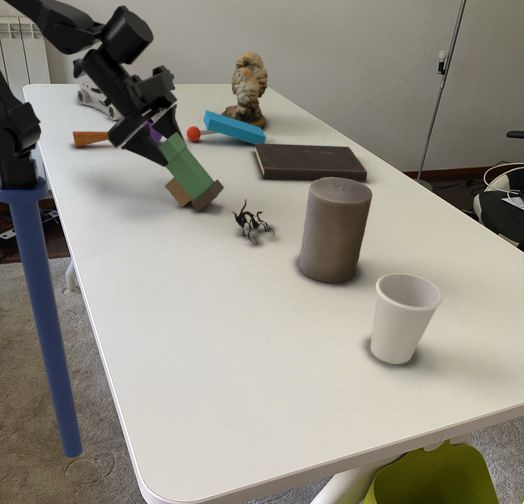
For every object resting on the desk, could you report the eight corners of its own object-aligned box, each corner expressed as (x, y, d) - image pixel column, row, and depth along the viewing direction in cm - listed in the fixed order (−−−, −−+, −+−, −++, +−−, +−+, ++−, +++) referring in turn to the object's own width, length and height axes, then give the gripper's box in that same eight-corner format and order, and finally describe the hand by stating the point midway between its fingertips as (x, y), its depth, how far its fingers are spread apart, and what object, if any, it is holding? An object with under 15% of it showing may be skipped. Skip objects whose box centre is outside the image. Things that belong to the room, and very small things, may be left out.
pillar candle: (367, 276, 90) (388, 189, 81) (319, 288, 86) (335, 198, 77) (333, 249, 97) (349, 165, 87) (286, 259, 92) (297, 172, 83)
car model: (115, 122, 138) (113, 101, 135) (68, 97, 151) (66, 77, 148) (152, 116, 145) (152, 96, 142) (104, 92, 158) (103, 73, 155)
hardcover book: (254, 152, 130) (254, 143, 129) (347, 156, 134) (349, 146, 132) (263, 179, 118) (264, 169, 117) (365, 182, 122) (367, 172, 120)
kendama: (70, 123, 124) (158, 114, 129) (76, 151, 127) (162, 141, 132) (71, 126, 119) (163, 117, 124) (78, 155, 122) (166, 144, 127)
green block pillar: (153, 203, 105) (150, 136, 97) (163, 193, 109) (161, 128, 101) (215, 215, 103) (217, 148, 95) (223, 204, 107) (226, 139, 99)
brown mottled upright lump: (218, 110, 154) (220, 41, 143) (259, 112, 156) (265, 44, 145) (224, 131, 140) (227, 57, 130) (269, 133, 142) (276, 60, 132)
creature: (279, 235, 101) (240, 216, 102) (288, 210, 98) (248, 191, 98) (263, 253, 95) (223, 233, 96) (273, 228, 92) (231, 207, 93)
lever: (251, 154, 142) (183, 133, 135) (260, 127, 138) (191, 105, 131) (256, 164, 137) (186, 143, 130) (266, 137, 133) (194, 114, 126)
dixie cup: (359, 364, 73) (375, 301, 66) (362, 327, 79) (377, 267, 73) (423, 375, 72) (445, 313, 66) (420, 338, 78) (440, 278, 72)
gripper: (118, 61, 84) (187, 146, 89) (165, 41, 98) (222, 115, 103) (78, 108, 90) (144, 184, 95) (127, 82, 104) (183, 150, 109)
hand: (176, 156), depth 101 cm, fingers open, 9 cm apart
